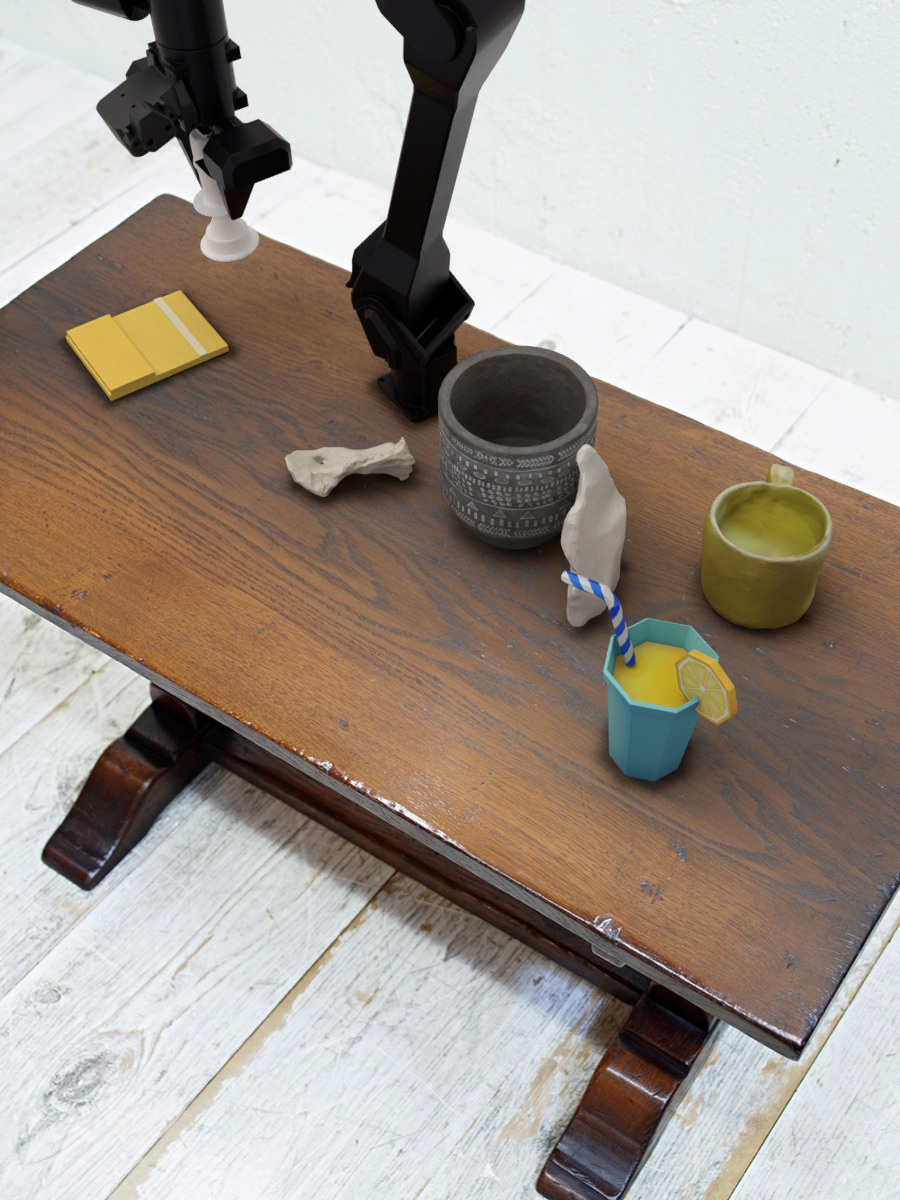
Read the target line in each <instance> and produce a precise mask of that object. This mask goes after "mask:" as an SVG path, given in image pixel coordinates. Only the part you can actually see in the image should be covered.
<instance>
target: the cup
mask: <svg viewBox="0 0 900 1200" xmlns="http://www.w3.org/2000/svg"><path fill="white" fill-rule="evenodd" d="M560 581H561V582H562V583H563V584H565V585H568V586H569V585H570V586H573V587H575V588H578V589H580V590H582V591H585V592H587V593H590V594H592V595H595V596H597V597H599V598H601V599H602V600H603V601H604V602H605V603H606V604H607V606H606V607H607V609H608V612H609V616H610V620H611V622H612V626H613V629H614V632H615V634H613V635H611V636H610V639H609V643H608V647H607V653H606V657H605V661H604V665H603V670H602V672H603V673H602V674H603V675H602V677H603V681H604V682H605V683H606V685H607V719H608V720H607V722H608V724H607V725H608V756H609V757H610V758H611V760H613V762H614V763H615V764H616V766H617V767H618V768H619V769H620V771H621V772H622V773H623V774H624V776H626V777H629V778H636V779H641V780H644V781H645V780H646V781H649V782H656V781H658V780H660V779H662V778H663V777H665V776H667V775H669V774H671V773H672V772H674V771H676V770H678V769H679V766H680V764H681V761H682V759H683V756H684V754H685V752H686V749H687V748H688V747H687V746H688V745H689V742H690V740H691V736H692V734H693V732H694V730H695V728H696V725H697V722H698V721H699V718H700V717H701V718H703V719H705V720H706V721H708V722H710V723H712V724H714V725H715V726H720V725H721V724H723V723H725V722H726V721H728V720H729V719H730V718H732V717H734V716H735V715H737V714H738V713H739V709H738V701H737V693H736V686H735V685H734V683H733V682H732V681H731V679H730V678H729V676H728V675H727V673H726V672H725V671H724V669H723V667H722V666H721V665H720V663H719V660H720V655H718V654H717V652H716V651H714V649H713V648H712V647H711V645H709V644H708V643H707V642H706V641H705V640H704V638H703V637H702V636H701V635H700V634H699V633H698V632H697V630H696V629H695V628H694V627H693V626H692V625H687V624H684V623H683V624H682V623H677V622H673V621H672V622H671V621H665V620H661V619H656V618H649V617H646V618H644V619H642V620H640V621H638V622H636V623H634V624H632V625H630V626H627V623H626V619H625V616H624V612H623V608H622V605H621V601H620V600H619V598H618V597H617V596H616V594H615V593H614V591H613V592H612V591H611V590H610V589H609V587H608V586H606V585H604V584H601V583H598V582H596V581H593V580H590V579H588V578H585V577H582V576H580V575H577V574H574V573H572V572H570V570H564V571H563V572H562V574H561V575H560Z"/></svg>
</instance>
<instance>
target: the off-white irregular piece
mask: <svg viewBox="0 0 900 1200" xmlns="http://www.w3.org/2000/svg"><path fill="white" fill-rule="evenodd" d="M284 461H285V463H286V467H287V470H288V472H289V474H290V475H291V477H292V479H293V481H294V482H295V483H296V484H299V485H300V486H301V487H303V488H304V489H305V490H307V491H308V492H310V493H312V494H314V495H316V496H319V497H322V498H326V497H328V496H329V494H330V493H331V491H332V490H333V489H334V488H336V487H337V486H338V485H339V484H340V482H341V481H342V480H343V479H344V478H346V477H347V476H350V475H352V474H361V475H369V474H386V475H390V476H392V477H395V478H398V479H399V480H400V481H405V480H407V479H408V478H409V477H410V474H411V473H412V472H413V471H414V470H413V465H414V464H416V460H415V458H414V456H413V455H412V453H411V452H410V449H409V447H408V444H407V441H406V439H405V437H404V436H401V438H400V440H399V441H398V442H397V443H395V442H392V441H389V442H385V443H382V444H381V443H380V444H379V445H376V446H372V447H368V448H364V449H352V448H348V447H343V446H323V447H321V448H317V449H313V450H312V449H310V450H309V449H307V450H306V449H303V450H301V449H296V450H293V451H292V452H291V453H289V454H287V455H286V456H285V457H284Z"/></svg>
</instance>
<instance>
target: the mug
mask: <svg viewBox="0 0 900 1200" xmlns="http://www.w3.org/2000/svg"><path fill="white" fill-rule="evenodd" d="M795 474H796V473H795V470H794V469H793V468H792V467H790V466H786V465H780V464H777V463H772V464H771V466H770V468H769V470H768V473H767V476H766V481H763V480H755V481H747V482H742V483H737V484H733V485H731V486H729V487H727V488H725V489H724V490H722V491H721V492H719V493H718V495H717V496H716V497H715V498H714V499H713V500H712V502H711V503H710V505H709V508H708V510H707V512H706V515H705V519H704V522H703V526H702V527H703V529H702V536H701V538H702V539H701V562H700V564H701V565H700V585H701V590H702V593H703V595H704V597H705V600H706V602H707V603H708V604H709V606H710V607H711V608H712V609H713V610H714V611H715V612H716V613H717V614H718V615H719V616H721V618H723V619H725V620H726V621H728V622H729V623H731V624H733V625H736V626H739V627H744V628H747V629H753V630H760V629H769V630H770V629H771V630H773V629H779V628H782V627H785V626H789V625H792V624H793V623H796V622H797V621H799V620H800V619H801V618H802V616H804V614H805V613H806V612H807V610H808V609H809V607H810V606H811V604H812V602H813V599H814V596H815V593H816V587H817V584H818V580H819V578H820V576H821V574H822V573H821V572H822V571H823V567H824V565H825V562H826V560H827V558H828V556H829V552H830V549H831V546H832V544H833V538H834V530H833V529H834V523H833V520H832V517H831V514H830V512H829V510H828V508H827V507H826V505H824V504H823V503H822V501H821V500H820V499H819V498H818V497H816V496H815V495H813V494H812V493H810V492H808V491H806V490H805V489H802V488H798V487H797V486H794V484H795Z"/></svg>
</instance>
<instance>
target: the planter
mask: <svg viewBox="0 0 900 1200" xmlns="http://www.w3.org/2000/svg"><path fill="white" fill-rule="evenodd" d="M598 411H599V394H598V390H597V387H596V385H595V382H594V380H593V379H592V377H591V376H590V374H589V373H588V372H587V371H586V370H585V369H584V368H583V367H582V366H581V365H580V364H579V363H577V362H576V361H574V360H573V359H572V358H570V357H569V356H566V355H565V354H562V353H560V352H558V351H555V350H553V349H548V348H545V347H539V346H534V345H533V346H532V345H519V344H518V345H503V346H495V347H491V348H488V349H484V350H481V351H478V352H476V353H473V354H471V355H469V356H467V357H466V358H464V359H462V360H461V361H459V362H457V365H456V366H455V367H454V368H453V369H452V370H451V371H450V372H449V373H448V374H447V375H446V377H445V379H444V380H443V382H442V384H441V387H440V390H439V395H438V412H437V413H438V447H439V483H440V492H441V496H442V500H443V502H444V504H445V505H446V507H447V509H448V510H449V511H450V513H451V514H452V515H453V516H454V517H455V519H457V521H458V522H459V523H460V524H461V525H462V526H463V527H464V528H465V529H467V530H468V531H469V532H470V533H472V534H473V535H474V536H475V537H477V538H479V539H480V541H482V542H484V543H486V544H488V545H490V546H493V547H496V548H500V549H505V550H526V549H531V548H534V547H538V546H540V545H542V544H545V543H546V542H548V541H549V540H551V539H553V538H554V537H555V536H556V535H557V536H558V534H559V533H562V529H563V525H564V520H565V518H566V516H567V514H568V512H569V511H570V509H571V508H572V507H573V506H574V504H575V501H576V496H577V492H578V486H579V479H580V470H579V466H578V463H577V453H578V450H580V448H581V447H582V446H583V445H585V444H588V445H590V446H591V447H592V448H594V449H595V447H596V438H597V429H598V428H597V427H598V425H597V424H598Z"/></svg>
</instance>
